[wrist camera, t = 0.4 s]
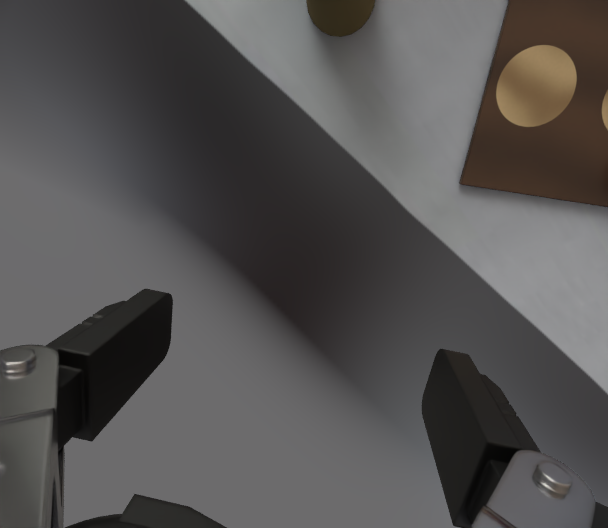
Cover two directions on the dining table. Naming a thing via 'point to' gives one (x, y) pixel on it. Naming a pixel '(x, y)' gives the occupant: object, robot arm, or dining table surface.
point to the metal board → (546, 104)
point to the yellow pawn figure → (339, 15)
